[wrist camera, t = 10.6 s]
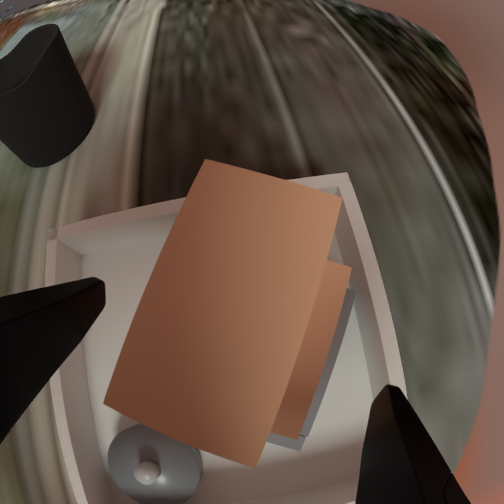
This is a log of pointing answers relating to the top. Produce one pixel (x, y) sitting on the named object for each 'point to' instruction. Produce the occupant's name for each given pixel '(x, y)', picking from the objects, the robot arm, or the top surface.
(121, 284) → the tray
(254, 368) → the post
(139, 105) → the top surface
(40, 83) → the pen holder
